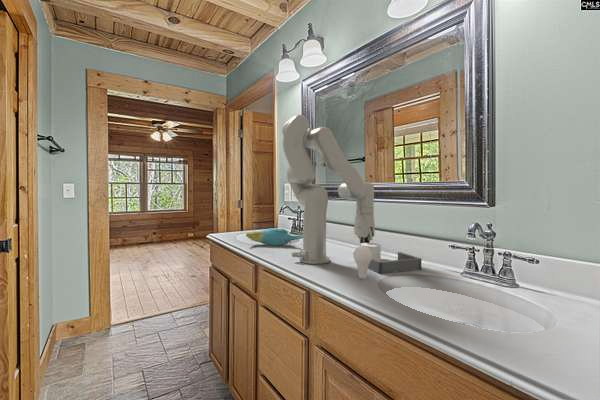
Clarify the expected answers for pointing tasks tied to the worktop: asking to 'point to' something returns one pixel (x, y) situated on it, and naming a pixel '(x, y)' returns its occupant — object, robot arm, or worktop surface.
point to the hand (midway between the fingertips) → (364, 251)
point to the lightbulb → (362, 260)
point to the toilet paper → (374, 250)
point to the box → (396, 264)
